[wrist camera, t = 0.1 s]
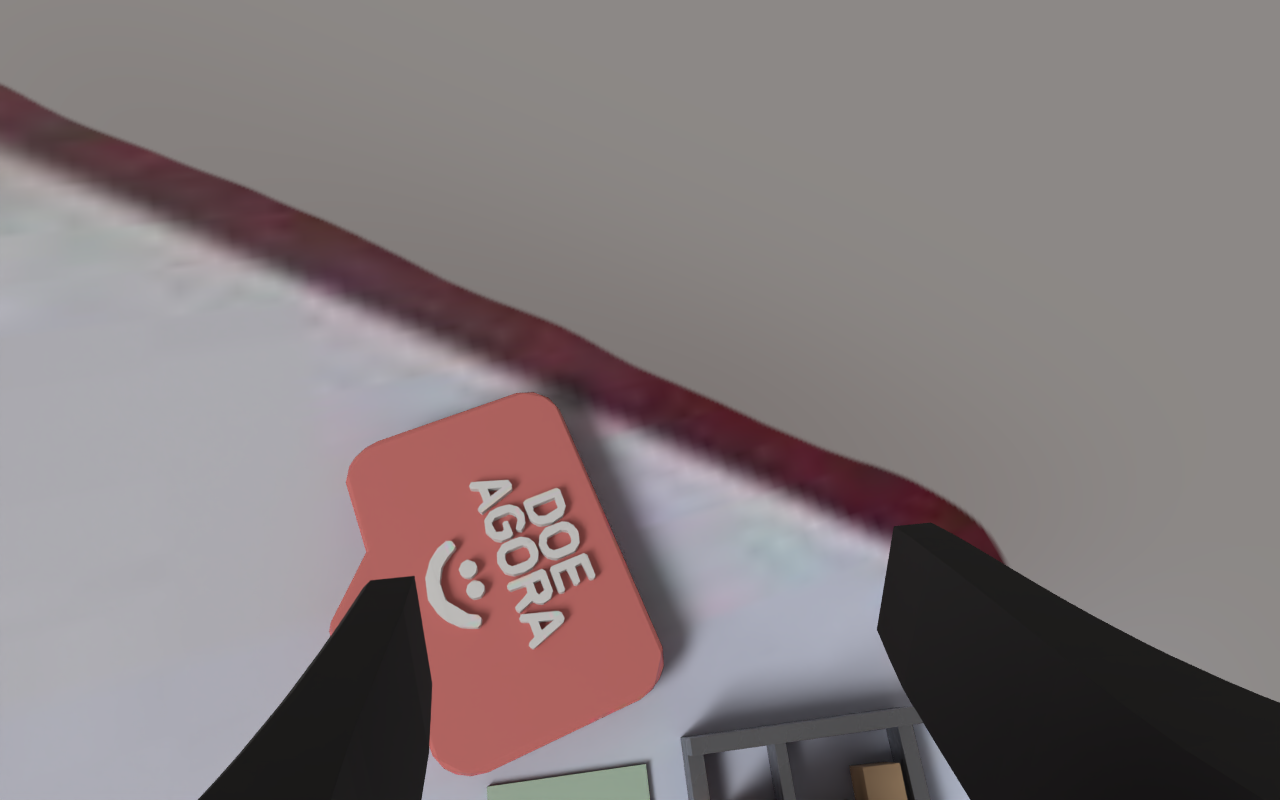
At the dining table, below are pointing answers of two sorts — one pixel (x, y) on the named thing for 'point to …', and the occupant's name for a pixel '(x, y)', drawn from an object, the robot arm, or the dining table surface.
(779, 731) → the rack
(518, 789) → the mat
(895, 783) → the block
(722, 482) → the dining table surface
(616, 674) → the red flat case
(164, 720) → the dining table surface
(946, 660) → the robot arm
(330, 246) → the dining table surface
